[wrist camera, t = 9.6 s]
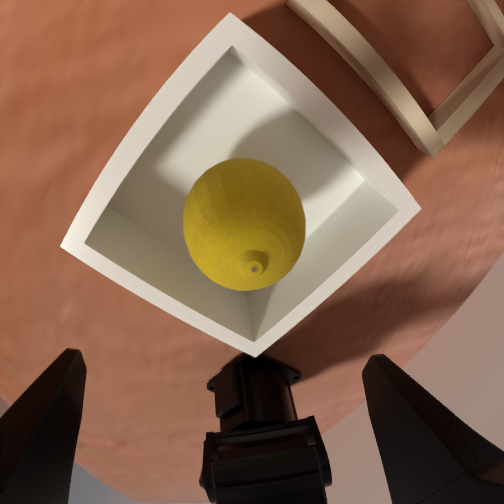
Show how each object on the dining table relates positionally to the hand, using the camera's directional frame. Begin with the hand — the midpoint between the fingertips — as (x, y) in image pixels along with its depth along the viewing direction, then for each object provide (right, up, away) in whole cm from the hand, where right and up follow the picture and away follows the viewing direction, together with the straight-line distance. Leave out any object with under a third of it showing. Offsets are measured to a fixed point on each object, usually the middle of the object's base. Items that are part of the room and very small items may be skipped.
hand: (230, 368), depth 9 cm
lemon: (0, +7, +10) cm, 12 cm away
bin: (0, +7, +10) cm, 12 cm away
